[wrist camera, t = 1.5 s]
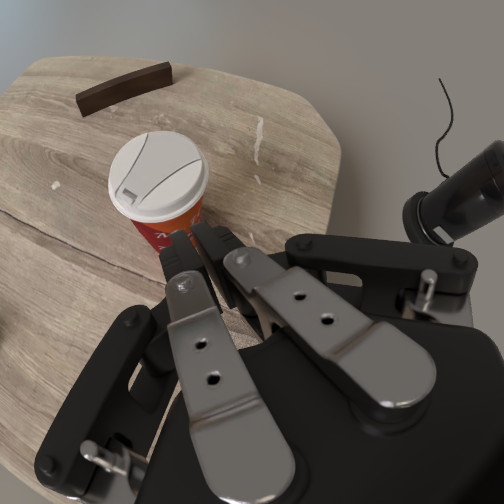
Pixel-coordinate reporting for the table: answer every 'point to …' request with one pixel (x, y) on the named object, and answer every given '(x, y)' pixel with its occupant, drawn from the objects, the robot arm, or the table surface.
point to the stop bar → (124, 88)
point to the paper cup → (159, 185)
